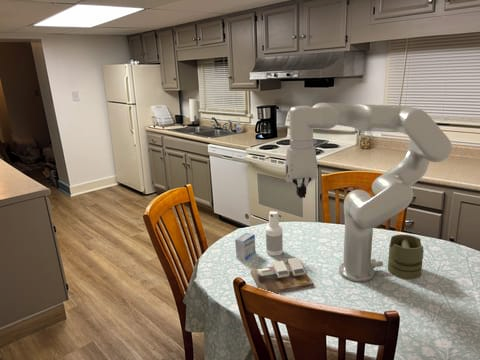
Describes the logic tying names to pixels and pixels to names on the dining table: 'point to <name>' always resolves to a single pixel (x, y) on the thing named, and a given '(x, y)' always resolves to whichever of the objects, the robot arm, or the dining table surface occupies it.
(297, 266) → the rocker
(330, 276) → the dining table surface
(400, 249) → the piston
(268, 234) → the spray bottle
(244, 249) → the medicine box
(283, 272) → the rocker middle
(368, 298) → the dining table surface
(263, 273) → the block
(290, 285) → the switch board
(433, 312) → the dining table surface
